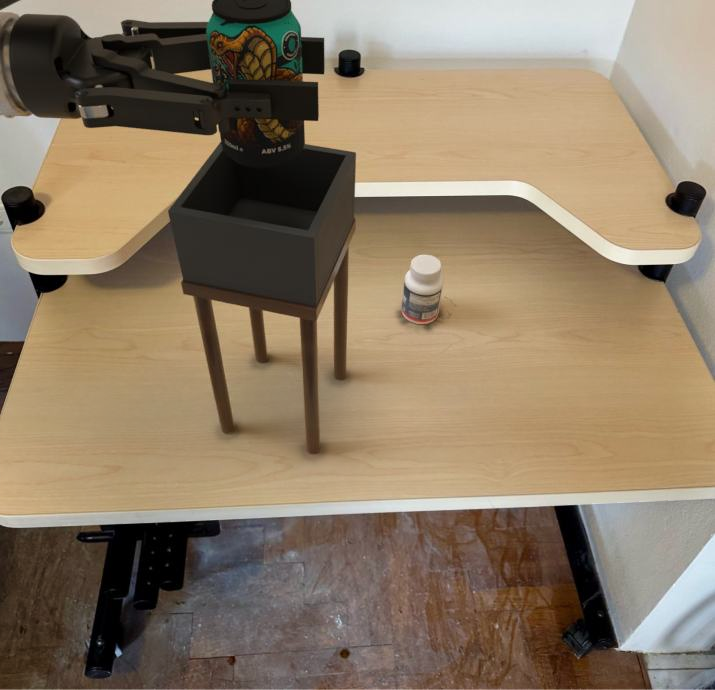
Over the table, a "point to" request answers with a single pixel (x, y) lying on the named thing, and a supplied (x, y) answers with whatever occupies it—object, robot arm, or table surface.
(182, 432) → the table surface
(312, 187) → the trash bin
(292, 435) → the table surface
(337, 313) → the stool
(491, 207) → the table surface
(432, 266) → the pill bottle
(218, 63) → the beverage can
